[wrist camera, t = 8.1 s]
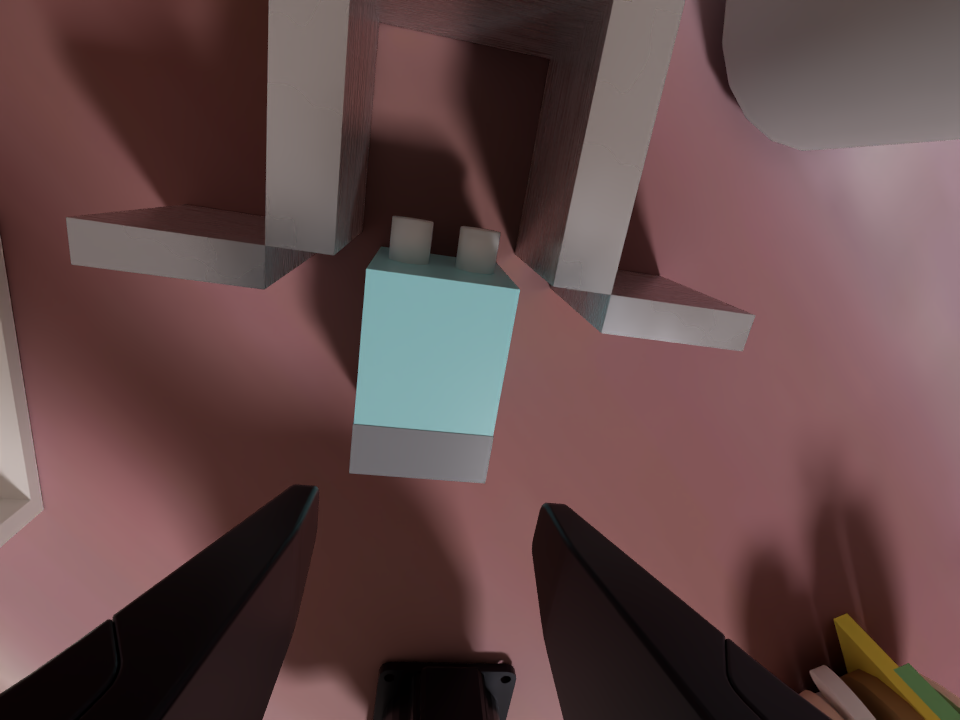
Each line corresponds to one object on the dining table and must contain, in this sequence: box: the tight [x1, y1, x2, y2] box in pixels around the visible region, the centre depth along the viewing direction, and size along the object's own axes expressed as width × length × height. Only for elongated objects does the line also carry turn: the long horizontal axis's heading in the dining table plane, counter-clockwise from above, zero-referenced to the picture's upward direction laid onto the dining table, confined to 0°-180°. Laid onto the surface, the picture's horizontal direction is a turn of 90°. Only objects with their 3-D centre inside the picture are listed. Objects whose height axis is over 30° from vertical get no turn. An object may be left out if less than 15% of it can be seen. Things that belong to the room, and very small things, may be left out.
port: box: [66, 0, 755, 351], centre depth 13 cm, size 8×16×6 cm, turn 81°
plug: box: [349, 216, 520, 483], centre depth 16 cm, size 7×4×4 cm, turn 171°
